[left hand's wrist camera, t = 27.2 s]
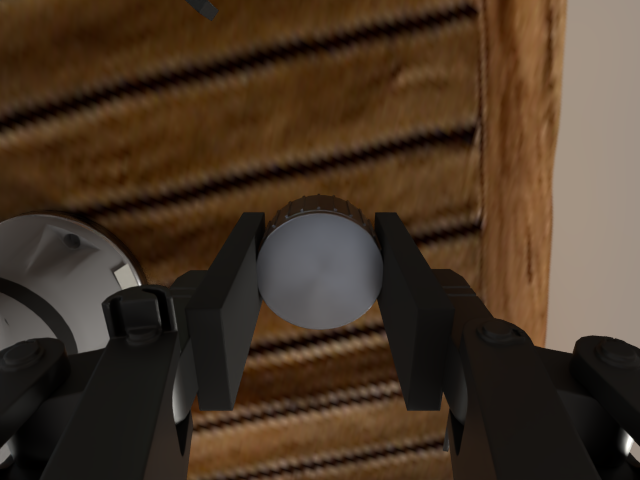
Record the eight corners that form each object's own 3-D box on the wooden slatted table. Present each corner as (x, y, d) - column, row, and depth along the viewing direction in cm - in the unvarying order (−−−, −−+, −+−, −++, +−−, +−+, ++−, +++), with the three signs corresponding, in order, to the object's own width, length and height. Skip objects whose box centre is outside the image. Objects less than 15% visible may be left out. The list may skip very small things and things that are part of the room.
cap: (294, 171, 13) (289, 186, 11) (398, 225, 14) (412, 249, 12) (244, 269, 14) (232, 299, 12) (342, 314, 15) (345, 349, 13)
